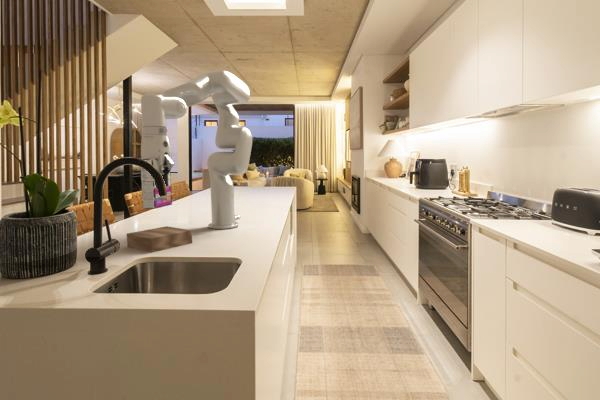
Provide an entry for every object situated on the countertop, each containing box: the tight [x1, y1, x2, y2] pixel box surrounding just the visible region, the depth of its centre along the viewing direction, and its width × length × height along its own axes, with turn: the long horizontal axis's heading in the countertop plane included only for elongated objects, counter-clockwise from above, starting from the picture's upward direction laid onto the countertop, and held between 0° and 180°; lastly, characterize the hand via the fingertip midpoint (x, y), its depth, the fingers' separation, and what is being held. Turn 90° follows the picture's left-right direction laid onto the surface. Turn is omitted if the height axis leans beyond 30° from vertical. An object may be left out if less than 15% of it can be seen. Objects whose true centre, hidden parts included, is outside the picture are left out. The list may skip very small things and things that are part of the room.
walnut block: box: [126, 226, 193, 253], centre depth 142 cm, size 16×14×5 cm
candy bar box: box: [139, 159, 173, 210], centre depth 139 cm, size 11×5×16 cm, turn 168°
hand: (156, 185), depth 139 cm, fingers closed on candy bar box, 6 cm apart
